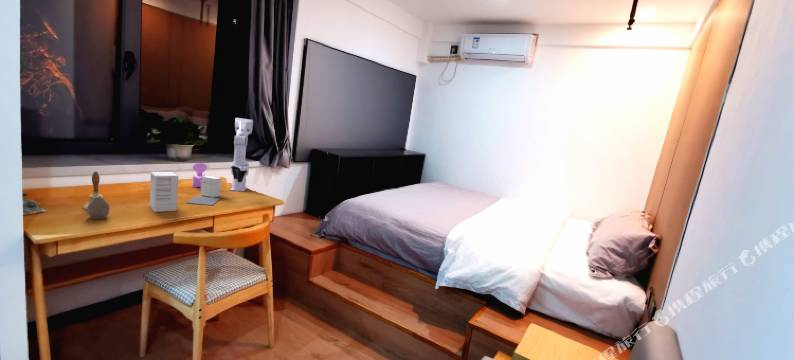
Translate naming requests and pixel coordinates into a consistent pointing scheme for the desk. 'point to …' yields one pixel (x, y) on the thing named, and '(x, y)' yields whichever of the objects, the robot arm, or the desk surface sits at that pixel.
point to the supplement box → (163, 191)
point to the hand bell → (95, 183)
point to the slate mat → (203, 200)
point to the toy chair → (198, 174)
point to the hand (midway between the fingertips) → (237, 180)
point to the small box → (211, 186)
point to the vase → (98, 208)
